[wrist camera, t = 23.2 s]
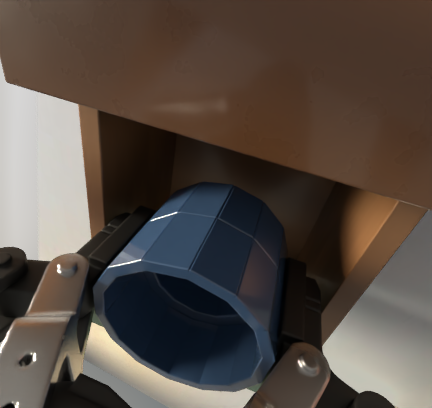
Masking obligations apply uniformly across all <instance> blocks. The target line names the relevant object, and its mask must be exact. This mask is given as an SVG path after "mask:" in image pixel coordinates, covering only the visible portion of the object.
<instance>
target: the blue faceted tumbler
mask: <svg viewBox="0 0 432 408" xmlns="http://www.w3.org/2000/svg"><path fill="white" fill-rule="evenodd" d="M287 256H288V249H287V243H286V237H285V231H284V227H283V225H282V224H281V223H280V221H279V220H278V219H277V217H276V216H275V215H274V214H273V212H272V211H271V210H270V208H269V207H268V206H267V204H266V203H265V202H264V203H263V201H262V200H261V199H259V198H257V197H255V196H253V195H251V194H250V193H248V192H246V191H244V190H242V189H241V188H239V187H237V186H234V185H232V184H223V183H214V182H205V181H203V182H199V183H196V184H193V185H190V186H188V187H185V188H182V189H179V190H177V191H175V192H174V193H173V194H172V195H171V196H170V198H169V199H168V200H167V201H166V202H165V203H164V204H163V205H162V206H161V208H160V209H159V210H158V211H157V212H156V213H155V214H154V215H153V217H152V218H151V219H150V220H149V221H148V222H147V223H146V224H145V225H144V227H143V228H142V229H141V230H140V231H139V232H138V233H137V234H136V236H135V237H134V238H133V239H132V240H131V241H130V242H129V243H128V245H127V246H126V247H125V248H124V249H123V250H122V251H121V252H120V254H119V255H118V256H117V257H116V258H115V259H114V260H113V261H112V263H111V264H110V265H109V266H108V267H107V268H106V270H105V271H104V272H103V274H102V275H101V276H100V277H99V279H98V280H97V281H96V283H95V284H94V285H93V288H92V290H93V299H94V309H95V314H96V315H97V317H98V318H99V320H100V322H101V323H102V325H103V326H104V328H105V329H106V331H107V333H108V334H109V336H110V337H111V338H112V340H114V341H115V342H116V343H117V344H118V345H119V346H120V347H121V348H123V349H124V350H125V351H126V352H127V353H128V354H129V355H130V356H132V357H133V358H134V359H135V360H136V361H138V362H139V363H141V364H143V365H144V366H146V367H148V368H150V369H152V370H153V371H155V372H157V373H159V374H160V375H162V376H164V377H166V378H168V379H170V380H173V381H176V382H179V383H182V384H186V385H189V386H192V387H195V388H198V389H202V390H213V391H228V392H236V391H239V390H242V389H245V388H248V387H251V386H254V385H257V384H260V383H262V382H263V380H264V379H265V377H266V376H267V374H268V372H269V371H270V369H271V368H272V366H273V364H274V363H275V359H276V351H277V342H278V333H279V325H280V316H281V308H282V299H283V290H284V281H285V273H286V264H287Z"/></svg>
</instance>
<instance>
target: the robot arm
mask: <svg viewBox="0 0 432 408" xmlns="http://www.w3.org/2000/svg"><path fill="white" fill-rule="evenodd" d="M156 212H157V211H156V210H153V209H150V208H148V207H145V206H142V205H141V206H139V207H138V208H137V209H136V210H135V211H134V212H133V213H132V214H131V213H128V212H125V213H123V214H121V215H118V216H116V217H115V218H114V219H113V220H112V221H110V222H109V223H108V225H106V226H105V227H104V228H103V229H102V230H101V231H100V232H98V233H97V234H96V235H95V236H94V237H93V238H92V239H91V240H90V241H89V242H88V243H86V244H85V245H84V246H83V247H82V248H81V249H80V250H79V251H78V252H77V253H70V254H64V255H61V256H58V257H56V258H55V259H53V260H52V261H38V260H27V258H26V254H25V252H24V251H23V250H21V249H19V248H15V247H4V248H0V342H2V341H3V340H4V341H3V343H2V345H1V347H0V408H131V407H130V406H129V405H128V404H127V403H126V402H125V401H124V400H123V399H122V398H121V397H120V396H119V395H118V394H117V393H116V392H114V391H113V390H112V389H111V388H110V387H109V386H108V385H106V384H103V383H101V382H99V381H97V380H95V379H92V378H90V377H88V376H86V375H84V374H82V372H83V359H84V354H85V349H86V345H87V340H88V336H89V331H90V327H91V322H92V318H93V313H94V299H93V290H92V288H93V285H94V284H95V283H96V281H97V280H98V279H99V277H100V276H101V275H102V274H103V272H104V271H105V270H106V268H107V267H108V266H109V265H110V264H111V263H112V261H113V260H114V259H115V258H116V257H117V256H118V255H119V254H120V252H121V251H122V250H123V249H124V248H125V247H126V246H127V245H128V243H129V242H130V241H131V240H132V239H133V238H134V237H135V236H136V234H137V233H138V232H139V231H140V230H141V229H142V228H143V227H144V225H145V224H146V223H147V222H148V221H149V220H150V219H151V218H152V217H153V215H154V214H155V213H156ZM306 267H307V266H306V263H304V262H302V261H299V260H296V259H293V258H290V257H288V259H287V264H286V273H285V281H284V290H283V299H282V308H281V316H280V325H279V333H278V342H277V351H276V359H275V363H274V364H273V366H272V368H271V369H270V371H269V373H268V377H267V378H266V380H265V381H264V382H263V384H262V385H261V386H260V388H259V389H258V390H257V392H256V393H255V394H254V395H253V396H252V397H251V399H250V400H249V401H248V403H247V404H246V405H245V407H244V408H395V407H394V406H393V405H392V404H391V403H390V402H389V401H388V400H387V399H386V398H384V397H383V396H382V395H380V394H378V393H375V392H372V391H364V392H362V393H360V394H359V393H358V392H356V391H355V390H354V389H352V388H351V387H350V386H348V385H347V384H346V383H344V382H343V381H342V380H340V379H339V378H338V377H337V376H336V375H335V374H334V373H333V372H332V370H331V369H330V367H329V364H328V362H327V360H326V358H325V356H324V355H323V352H322V325H321V304H320V303H321V291H320V289H319V287H318V284H317V282H316V280H315V279H312V278H310V277H307V276H306Z"/></svg>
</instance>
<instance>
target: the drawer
mask: <svg viewBox="0 0 432 408" xmlns="http://www.w3.org/2000/svg"><path fill="white" fill-rule="evenodd" d="M78 106H79V117H80V127H81V137H82V147H83V158H84V168H85V178H86V188H87V198H88V209H89V219H90V229H91V239H92V238H93V237H94V236H95V235H96V234H97V233H98V232H100V231H101V230H102V229H103V228H104V227H105V226H106V225H108V223H109V222H110V221H112V220H113V219H114V218H115V217H116V216H118V215H121V214H123V213H125V212H128V213H131V214H132V213H133V212H134V211H135V210H136V209H137V208H138V207H139V206H141V205H142V206H145V207H148V208H150V209H153V210H156V211H158V210H159V209H160V208H161V206H162V205H163V204H164V203H165V202H166V201H167V200H168V199H169V198H170V196H171V195H172V194H173V193H174V192H175V191H177V190H179V189H182V188H185V187H188V186H190V185H193V184H196V183H199V182H203V181H205V182H214V183H223V184H232V185H234V186H237V187H239V188H241V189H242V190H244V191H246V192H248V193H250V194H251V195H253V196H255V197H257V198H259V199H261V200H262V201H263V203H264V202H265V203H266V204H267V206H268V207H269V208H270V210H271V211H272V212H273V214H274V215H275V216H276V217H277V219H278V220H279V221H280V223H281V224H282V225H283V227H284V231H285V237H286V243H287V249H288V256H287V259H288V257H290V258H293V259H296V260H299V261H302V262H304V263H306V266H307V267H306V276H307V277H310V278H312V279H315V280H316V282H317V284H318V287H319V289H320V291H321V303H320V304H321V325H322V345H323V344H324V343H325V342H326V340H327V339H328V338H329V336H330V335H331V334H332V333H333V331H334V330H335V329H336V328H337V326H338V325H339V324H340V322H341V321H342V320H343V319H344V317H345V316H346V315H347V313H348V312H349V311H350V310H351V308H352V307H353V306H354V304H355V303H356V302H357V301H358V299H359V298H360V297H361V295H362V294H363V293H364V292H365V290H366V289H367V288H368V286H369V285H370V284H371V283H372V281H373V280H374V279H375V277H376V276H377V275H378V274H379V272H380V271H381V270H382V268H383V267H384V266H385V265H386V263H387V262H388V261H389V259H390V258H391V257H392V256H393V254H394V253H395V252H396V250H397V249H398V248H399V247H400V245H401V244H402V243H403V241H404V240H405V239H406V238H407V236H408V235H409V234H410V232H411V231H412V230H413V229H414V227H415V226H416V225H417V223H418V222H419V221H420V220H421V218H422V217H423V216H424V214H425V213H426V212H427V211H428V209H425V208H422V207H418V206H415V205H412V204H408V203H405V202H402V201H398V200H395V199H392V198H389V197H385V196H382V195H379V194H375V193H372V192H369V191H365V190H362V189H359V188H355V187H352V186H349V185H345V184H342V183H339V182H335V181H332V180H329V179H326V178H322V177H319V176H316V175H312V174H309V173H306V172H302V171H299V170H296V169H292V168H289V167H286V166H282V165H279V164H276V163H272V162H269V161H266V160H262V159H259V158H256V157H253V156H249V155H246V154H243V153H239V152H236V151H233V150H229V149H226V148H223V147H219V146H216V145H213V144H209V143H206V142H203V141H199V140H196V139H193V138H189V137H186V136H183V135H180V134H176V133H173V132H170V131H166V130H163V129H160V128H156V127H153V126H150V125H146V124H143V123H140V122H136V121H133V120H130V119H126V118H123V117H120V116H117V115H113V114H110V113H107V112H103V111H100V110H97V109H93V108H90V107H87V106H83V105H80V104H78ZM92 322H93V323H96V324H98V325H100V326H103V325H102V323H101V322H100V320H99V318H98V317H97V315H96V314H95V309H94V313H93V318H92ZM103 327H104V326H103ZM268 373H269V372H268ZM267 377H268V374H267V376H266V377H265V379H264V380H263V382H264V381H265V380H266V378H267ZM263 382H262V383H260V384H257V385H254V386H251V387H248V388H247V389H249V390H252V391H254V392H257V390H258V389H259V388H260V386H261V385H262V384H263Z"/></svg>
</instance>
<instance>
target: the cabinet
mask: <svg viewBox="0 0 432 408" xmlns="http://www.w3.org/2000/svg"><path fill="white" fill-rule="evenodd" d="M0 59H1V63H2V67H3V72H4V76H5V80H6V82H7V83H10V84H14V85H17V86H21V87H24V88H27V89H30V90H34V91H37V92H40V93H44V94H47V95H50V96H53V97H57V98H60V99H63V100H67V101H70V102H73V103H77V104H80V105H83V106H87V107H90V108H93V109H97V110H100V111H103V112H107V113H110V114H113V115H117V116H120V117H123V118H126V119H130V120H133V121H136V122H140V123H143V124H146V125H150V126H153V127H156V128H160V129H163V130H166V131H170V132H173V133H176V134H180V135H183V136H186V137H189V138H193V139H196V140H199V141H203V142H206V143H209V144H213V145H216V146H219V147H223V148H226V149H229V150H233V151H236V152H239V153H243V154H246V155H249V156H253V157H256V158H259V159H262V160H266V161H269V162H272V163H276V164H279V165H282V166H286V167H289V168H292V169H296V170H299V171H302V172H306V173H309V174H312V175H316V176H319V177H322V178H326V179H329V180H332V181H335V182H339V183H342V184H345V185H349V186H352V187H355V188H359V189H362V190H365V191H369V192H372V193H375V194H379V195H382V196H385V197H389V198H392V199H395V200H398V201H402V202H405V203H408V204H412V205H415V206H418V207H422V208H425V209H428V210H432V0H0Z"/></svg>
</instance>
